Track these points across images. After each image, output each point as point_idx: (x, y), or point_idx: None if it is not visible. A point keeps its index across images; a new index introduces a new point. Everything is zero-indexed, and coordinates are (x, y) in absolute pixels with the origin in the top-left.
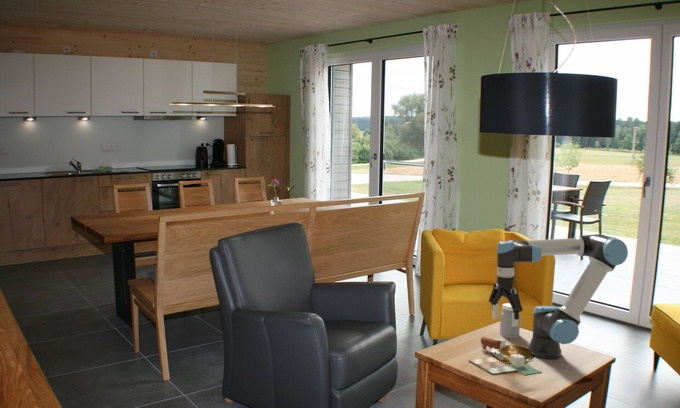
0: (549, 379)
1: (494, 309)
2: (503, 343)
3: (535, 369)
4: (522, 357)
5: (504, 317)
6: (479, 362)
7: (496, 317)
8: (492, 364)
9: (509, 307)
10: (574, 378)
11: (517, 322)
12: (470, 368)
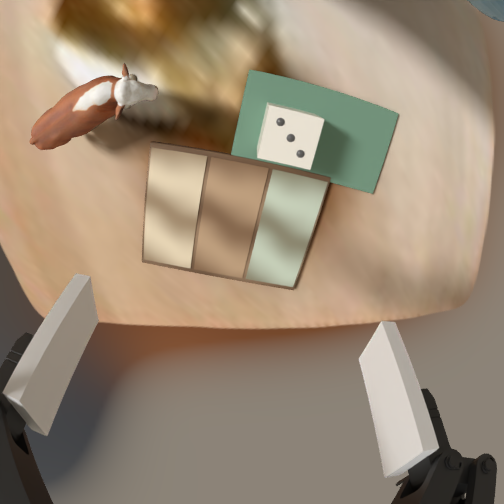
0: (445, 154)
1: (60, 386)
2: (141, 100)
3: (365, 104)
4: (320, 133)
5: None
6: (179, 247)
7: (88, 299)
8: (222, 221)
9: None
10: (486, 76)
11: (401, 352)
12: (204, 301)
